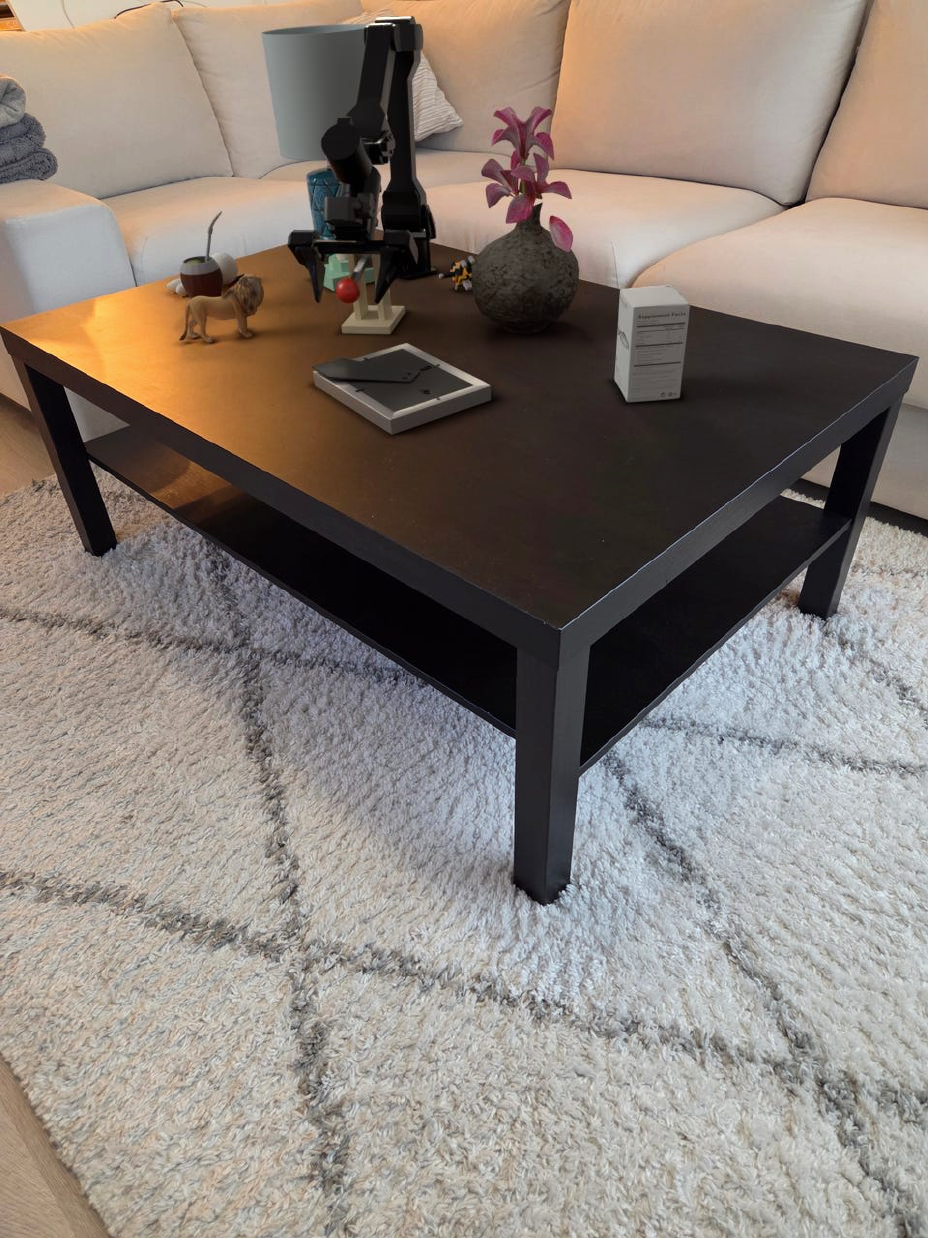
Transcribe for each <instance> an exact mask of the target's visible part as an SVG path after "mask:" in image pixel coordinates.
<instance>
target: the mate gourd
mask: <svg viewBox="0 0 928 1238" xmlns="http://www.w3.org/2000/svg"><path fill="white" fill-rule="evenodd" d="M222 214H223V211H222V210H220V211H219V212H218V213H217V215H216V216H215V217H214V218H213V219H212V220H211V222H210V224H209V226H208V227H207V240H206V241H207V242H206V251H205V255H196V256H191V257H187V258H185V259H183V260H182V262H181V264H180V267H179V278H180V279H181V283H182V285H183V287H184V289H185V291H186V293H187V294H188V295H187V296H188V297H189V298H190V299H192V298H193V297H197V296H206V297H220V296H223V294H222V293H223V289H224V284H223V275H222V271H221V269H220V267H219V265H218V263H217V262H216V261H215V260H214V259H213V258H212V257H211V256H210V250H211V242H212V235H213V232H214V231H213V230H214V228H213V227H214V225H215V223H216V222H217V220H218V219H219V218H220V216H221V215H222Z"/></svg>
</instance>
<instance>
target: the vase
mask: <svg viewBox="0 0 928 1238" xmlns="http://www.w3.org/2000/svg"><path fill="white" fill-rule="evenodd" d="M552 115H553V110H551V108H547V109H546V108H543V107H542V106H535V107H534V108H533V109H531V112H530V114H529V116H528V118H527V119H526V120H524V121H523V120H522V119H520V117H518V115H517V113H516V110H514V109H513V108H512V106H506V107H504V108H503V109H501V110H499V109H498V110H497V109H496V110H495V111H494V112H493V117H494V118H497V119H499V120H501V121H502V122H503V123H505V124H506V125H507V126H506V127H505V128H499V129H496V130H495V131H494V133H493V134H492V139H491V144H490V145H491V146H490V147H493V146H494V145H496V144H497V143H500V142H502V141H508V142H510V143H511V145H512V147H513V148H514V151H513V152H512V154H511V156H510V164H509V165H510V166H509V167H510V169H504V168H503V166H502V165H501V164H500V162H499V161H497V160H496V159H494V158H489V159H488V160H487V162H485V164H483V166H482V168H481V170H480V174H481V177H485V178H487V179H491V180H492V181H493V180H494V181H495V182H490V183H489V184H487V185H486V187H485V198H486V202H487V207H488V209H491V208H492V207H494V206H496V205H497V204H498V203H499V202H500V200H501V199H502V198H504V197H506V198H509V197H511V198H512V199H511V200H510V202H509V204H508V206H507V211H506V217H505V224H506V225H509V224H515V226H514V228H513V229H512V230H510V231H509V232H507V233H506V234H504V235H502V236H500V237H498V238H496V239H495V240H493V241H491V242H489V243H488V244H486V245H485V247H484V248H483V249H482V250H481V251H480V252H479V253H478V255H477V256H475V259H474V260H475V261H474V263H472V264H471V268H472V273H471V279H472V280H471V284H472V288H473V289H472V293H473V299H474V301H475V302H474V303H475V305H476V306H477V309H478V310H479V312H480V314H482V315H483V316H485V317H486V318H488V319H489V320H490V321H493V322H495V323H497V324H499V325H501V326H503V327H504V329H505V330H506V331H508V332H511V333H517V334H531V333H532V334H533V333H537V332H541V331H542V330H544V329H545V328H546V327H547V324H549V323H551V322H553V321H555V320H556V319H558V318H559V317H561V316H562V315H564V314H565V313H566V312H567V311H568V310H569V309H570V307H571V305H572V303H573V301H574V299H575V298H576V295H577V293H578V289H579V288H578V287H579V281H580V266H579V260H578V259H577V256H576V254H575V253H574V252H573V251H574V250H572V248H573V247H572V246H573V243H574V234H573V231H572V230H571V228H570V227H569V225H568V224H567V223H566V222H565V221H564V220H563V219H561V218H560V217H558V216H555V215H550V216H549V220H548V229H549V230H548V229H546V228H545V227H544V226H542V224H541V210H542V207H543V204H544V202H543V201H542V202H540V203H537V204H535V203H536V200H537V199H538V200H543V195H542V194H557V195H559V196H561V197H563V198H567V199H568V200H573V197H572V196H573V195H572V192H571V190H570V188H569V186H568V184H567V183H566V182H565V181H561V180H557V181H551V182H550V183H548V182H547V180H546V179H547V177H548V176H549V171H550V163H549V161H548V159H546V158H545V157H543V156H542V155H540V154H538V153H537V152H533V153H532V156H533V158H534V159H533V160H534V163H535V168H536V173H535V172H534V171H533V169H531V168H530V167H528V166H527V165H526V162H527V161H528V159H529V156H530V150H531V149H532V148H533V146H537V147H538V148H540V149H541V150H542V151H543V152H544V153H545V154H546V155H547V156H548V157H549V158H550V159H551V160H552V161H553V162H554V161H555V150H554V144H553V139H552V138H551V136H550V134H549V133H547V132H545V131H541V132H537V133H536V134H535V131H536V129H537V128H538V126H539V125H540V124H541V123H542V122H543V121H544V120H545V119H547V118H549V117H551V116H552ZM519 180H520V181H519Z"/></svg>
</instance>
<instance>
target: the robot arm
mask: <svg viewBox="0 0 928 1238" xmlns="http://www.w3.org/2000/svg"><path fill="white" fill-rule="evenodd" d="M367 25H368V26H365V28H364V44H365V50H364V57H363V63H362V70H361V76H360V83H359V89H358V96H357V101H356V105H355V106H354V107H353V108H352V109H351V110H350V111H349V112H348V113H347V114H346V116H345V117H338V118H337V124H335V125H334V126H332V127H330V128H329V129H328V130H327V131H326V132H325V134H324V136H323V137H322V138H321V148H322V151H323V153H324V155H325V157H326V159H327V160H326V162H327V161H328V163H329V165H330V167H331V169H332V171H333V173H334V175H335V177H336V179H337V180H339V181H340V182H342V187H341V195H340V197H325V198H323V221H324V223H328V224H330V226H329V231H330V232H331V234H335V240H321V239H320V237H319V236H318V234H317V232H316V231H315V230H314V229H293V230H292V231H290V233H289V235H288V236H287V245H286V246H287V248H288V250H289V251H290V253H291V254H292V255H293V257H294V258H295V260H296V261H297V262H298V264H299V265H301V266H303V267H305V269H306V270H307V272H308V274H309V277H310V282H311V287H312V288H311V289H312V292H313V296H314V301H315V302H316V303H317V304H320V303H321V300H322V296H323V290H324V286H323V284H324V278H325V271H326V268H325V266H324V265H325V264H324V263H325V262H326V259H327V258H326V254H367V255H380V267H379V272H378V277H377V283H376V287H375V289H374V303H375V305H377V304H379V303H380V301H381V300H382V298H383V296H384V295H385V293H386V292H387V290H388V289H389V288H391V286H392V284H393V283H394V282H395V281H396V279H397V278H399V277H401V278H403V279H406V280H411V279H414V278H419V277H423V276H427V275H430V274H434V273H436V272H437V269H436V268H433V267H432V258H431V257H432V256H431V245H430V244H431V243H430V242H431V241H432V240H435V239H437V228H436V221H435V218H434V215H433V212H432V210H431V208H430V207H431V206H430V205H429V204H428V199H427V198H428V197H427V193H426V191H425V189H424V187H423V186H422V183H420V180H419V179H418V175H417V157H416V138H415V137H416V136H415V135H416V134H415V114H414V113H415V112H414V95H413V93H414V92H413V80H414V77H415V76H416V73H417V71H418V69H419V67H420V65H421V62H422V50H423V49H424V30H423V25H422V24H421V23H417V21H416V19H415V16H414V15H402V16H401V15H400V16H381V17H376V18H375V20H374V22H373V23H369V24H367ZM388 163H389V174H390V179H389V182H388V184H387V186H386V188H385V189H384V190H383V192H382V184H381V183H382V176H381V173H380V171H379V170H378V168H377V167H375V166H384V165H387V164H388ZM380 193H382V194H381V201H382V205H381V207H380V222H381V226H382V232H383V234H382V239H375V235H376V228H378V227H379V218H378V209H379V201H380Z"/></svg>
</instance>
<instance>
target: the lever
mask: <svg viewBox="0 0 928 1238" xmlns="http://www.w3.org/2000/svg"><path fill="white" fill-rule="evenodd" d="M357 256H358V264H357V266H356V268H355V269H354V271H353V273H352V275H351V277H350V278H344V279H342V280H340V281H339V283H338V284H337V287H336V291H335V293H336V296H337V298H338V300H339V301H341V302H342V303H343V304H348V305H350V304H353V303H354V302H356V301H357V300H358V298H359V297H360V292H361V291H360V286H359V284H358V282H359V280H360V279H361V277H362V275H363V273H364V271H365V269H366V268H373V260H372V255H367V254H357Z"/></svg>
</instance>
